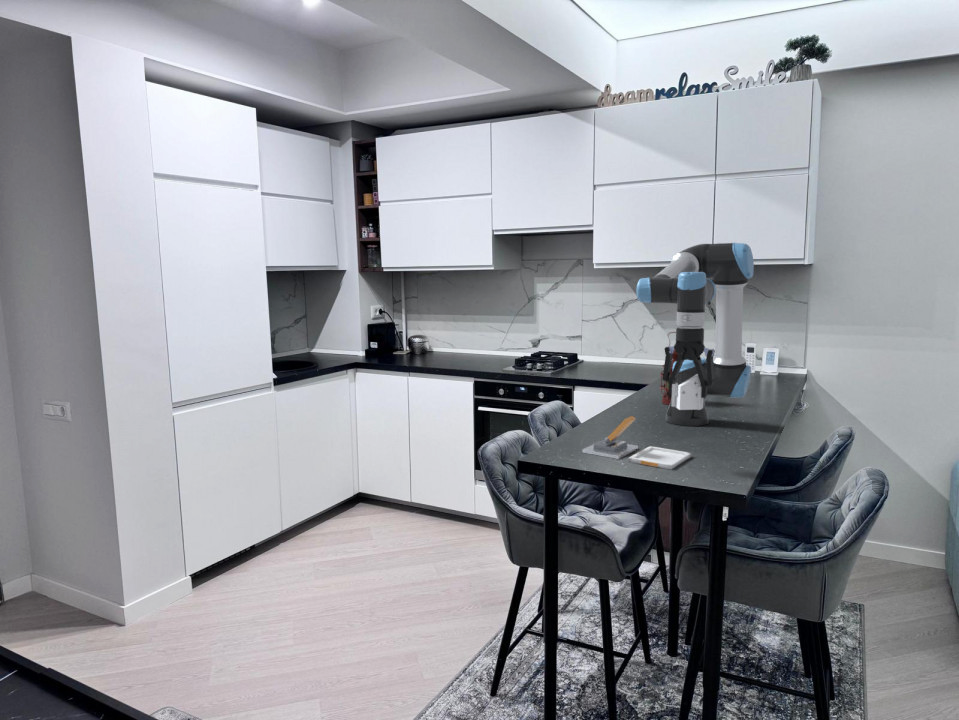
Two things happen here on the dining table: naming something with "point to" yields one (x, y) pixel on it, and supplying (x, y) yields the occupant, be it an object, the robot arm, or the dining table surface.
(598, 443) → the panel
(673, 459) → the tray
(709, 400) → the dining table surface
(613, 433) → the block
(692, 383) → the white wedge bracket
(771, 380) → the dining table surface
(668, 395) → the lantern
